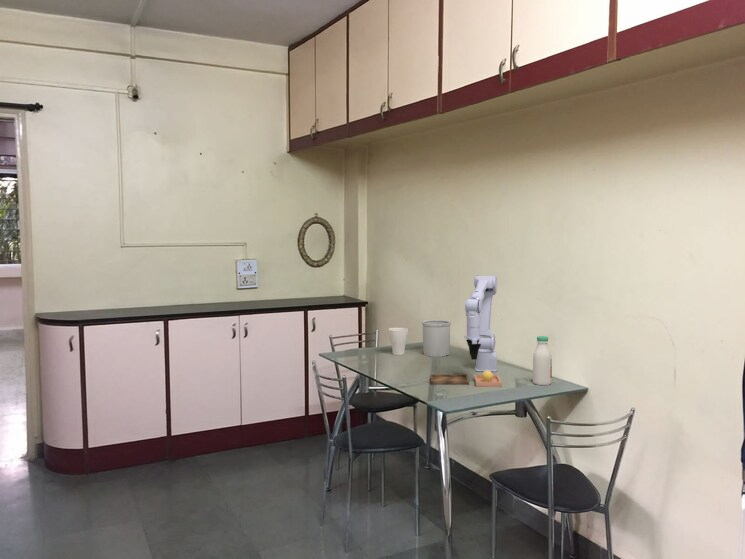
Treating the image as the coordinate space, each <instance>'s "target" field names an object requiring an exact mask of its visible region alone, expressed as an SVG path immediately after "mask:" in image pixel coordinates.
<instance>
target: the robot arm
mask: <svg viewBox="0 0 745 559" xmlns="http://www.w3.org/2000/svg"><path fill="white" fill-rule="evenodd" d="M473 283H474V284H473V285H474V288H475V289H474V290H473V291H472V292H471V294H470V296H469V298H468V299H466V300H465V302H464V310H465V316H466V335H464V336H463V338H464V339H465V340H466V343H467V346H468V350H469V355H470V358H471V360H475V364H476V365H475V366H474V370H475V371H476V372H484V371H486V370H488V371H491V372H492V373H493V372H497V371H498V370H497V369H498V368H497V366H498V360H497V359H498V358H497V357H498V356H497V351H496V350H495V348H496V335H495V333H494V332H493V331H491V317H492V316H491V314H492V301H493V296H494V295H497V292H498V278H497V276H496V275H475V276H474V281H473Z"/></svg>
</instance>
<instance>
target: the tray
mask: <svg viewBox="0 0 745 559" xmlns="http://www.w3.org/2000/svg"><path fill="white" fill-rule="evenodd" d="M430 385H437V386H438V385H445V386H446V385H451V386H452V385H456V386H457V385H463V386H464V385H469V386H470V380H469V377H468V374H466V373H465V374H462V373H461V374H460V373H459V374H458V373H457V374H456V373H455V374H454V373H453V374H452V373H450V374H449V373H448V374H445V373H444V374H443V373H442V374H441V373H437V374H436V373H434V374H433V373H431V374H430Z"/></svg>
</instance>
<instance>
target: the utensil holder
mask: <svg viewBox="0 0 745 559" xmlns="http://www.w3.org/2000/svg"><path fill="white" fill-rule="evenodd" d="M451 324H452V323H451V321H450V320H448V319H440V318H438V319H437V318H435V319H431V318H430V319H424V320H422V321H421V325H422V344H423V345H422V347H423V355H424V356H427V357H430V356H431V357H433V358H434V357H435V358H442V356H443V357H447V356H446V355H448V356H450V354H451ZM431 357H430V358H431Z"/></svg>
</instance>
